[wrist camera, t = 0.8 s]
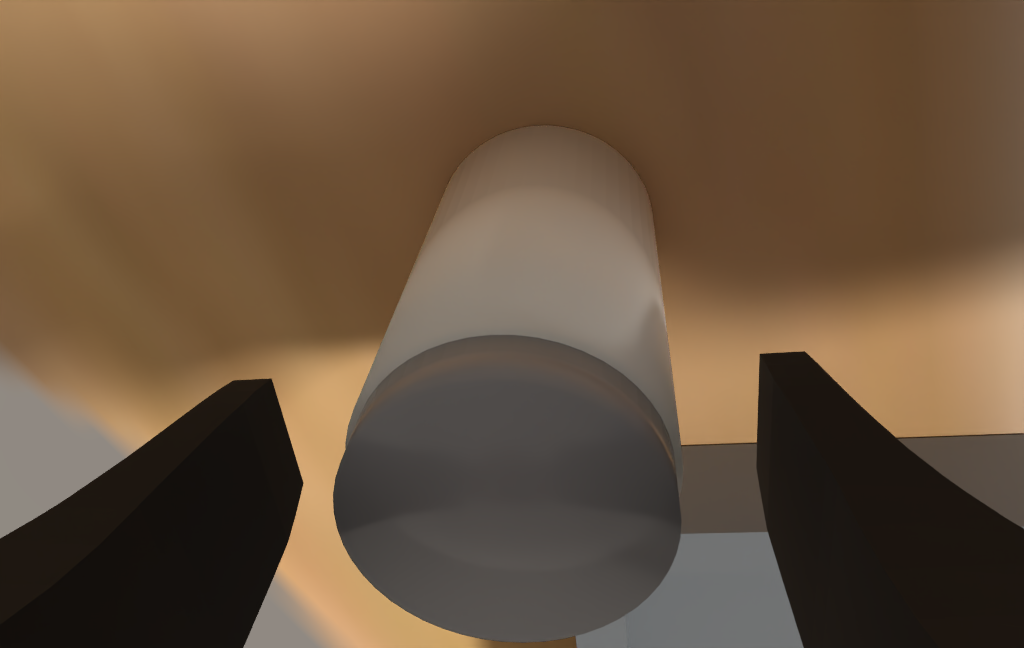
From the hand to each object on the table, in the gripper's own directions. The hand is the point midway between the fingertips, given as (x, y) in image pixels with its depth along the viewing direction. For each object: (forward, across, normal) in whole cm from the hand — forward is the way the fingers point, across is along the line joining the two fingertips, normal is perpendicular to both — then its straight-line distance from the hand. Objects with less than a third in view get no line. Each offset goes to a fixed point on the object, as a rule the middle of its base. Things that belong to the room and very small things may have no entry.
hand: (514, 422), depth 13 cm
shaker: (+7, 0, 0) cm, 7 cm away
